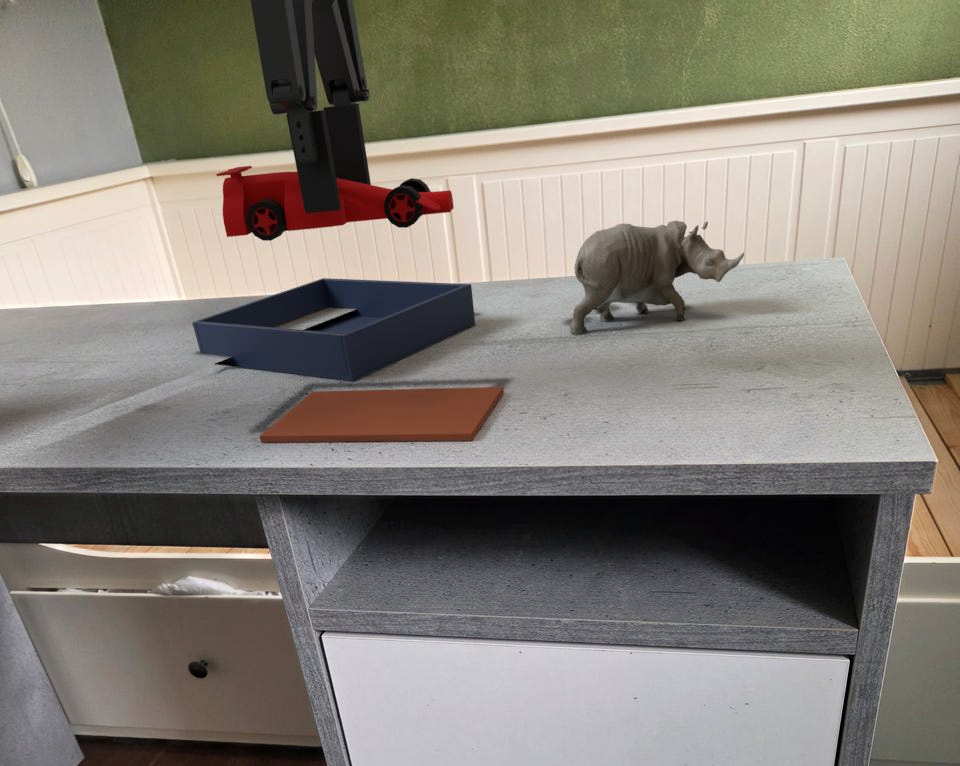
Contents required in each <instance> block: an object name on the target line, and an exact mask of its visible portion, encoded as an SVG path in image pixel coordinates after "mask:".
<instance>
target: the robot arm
mask: <svg viewBox="0 0 960 766" xmlns="http://www.w3.org/2000/svg"><path fill="white" fill-rule="evenodd" d="M353 1H354V0H250V6H251V12H252V17H253V22H254V23H253V25H254V31H255V35H256V41H257V42H256V43H257V47H258V54H259V59H260V64H261V65H260V66H261V72H262V77H263V82H264V88H265V89H264V90H265V94H266V99H267V101H268V103H269V108H270V111H271V113H272V114H273V115H274V116H277V115H285V114H286V120H287V125H288V130H289V135H290V141H291V146H292V151H293V157H294V162H295V167H296V172H297V173H298V178H299V183H300V189H301V194H302V199H303V204H304V209H305V213H314V212H326V211H338V210H340V209H341V203H340V197H339V191H338V185H337V179H336V178H338V179H343V180H348V181H353V182H358V183H363V184H368V185H372V183H371V176H370V170H369V162H368V157H367V151H366V150H367V149H366V142H365V137H364V131H363V130H364V129H363V123H362V118H361V117H362V115H361V110H360V104H359V103H362V102H363V103H364V102H369V101H370V89H369V88H368V85H367V84H368V83H367V82H368V81H367V77H366V71H365V65H364V60H363V53H362V47H361V42H360V37H359V36H360V35H359V31H358V23H357V19H356V12H355V7H354V2H353ZM316 64H317V68H318V72H319V76H320V79H321V82H322V86H323V89H324V93H325V97H326V100H327V103H328V104H329V106H324V107H323V109H322V110H321V109H320V110H317V109H318V89H317V73H316V72H317V71H316Z"/></svg>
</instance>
